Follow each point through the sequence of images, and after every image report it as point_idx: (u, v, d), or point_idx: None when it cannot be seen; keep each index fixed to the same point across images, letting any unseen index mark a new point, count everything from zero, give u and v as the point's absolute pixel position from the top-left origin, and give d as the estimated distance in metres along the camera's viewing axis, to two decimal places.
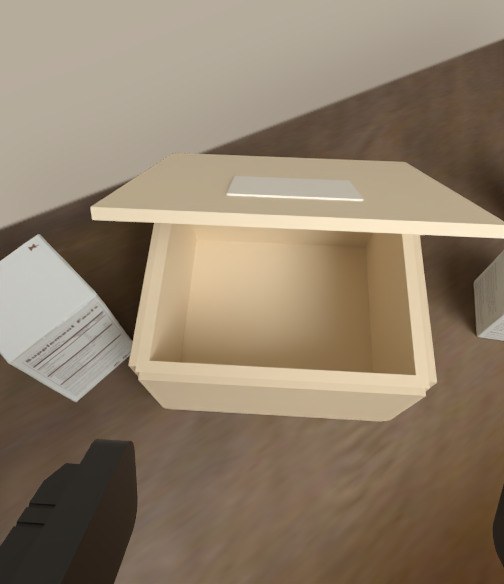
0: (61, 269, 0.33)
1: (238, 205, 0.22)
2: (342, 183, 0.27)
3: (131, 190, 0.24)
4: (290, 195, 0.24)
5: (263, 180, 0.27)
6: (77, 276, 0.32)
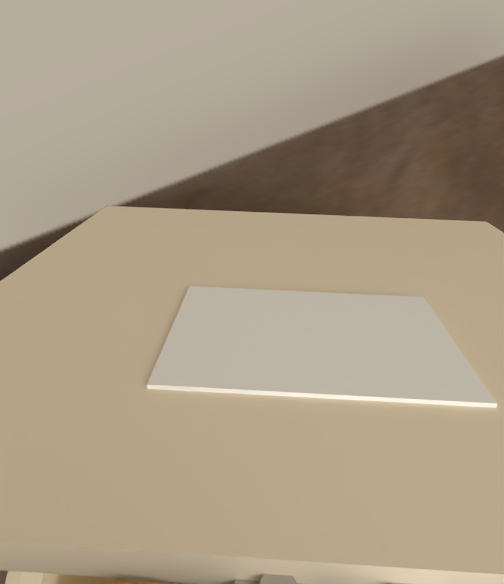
0: None
1: (160, 467, 0.07)
2: (414, 311, 0.13)
3: None
4: (308, 388, 0.09)
5: (246, 304, 0.13)
6: None
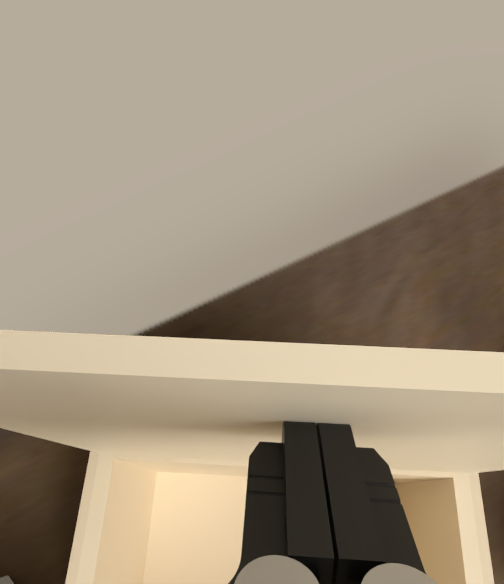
0: None
1: None
2: None
3: None
4: None
5: None
6: None
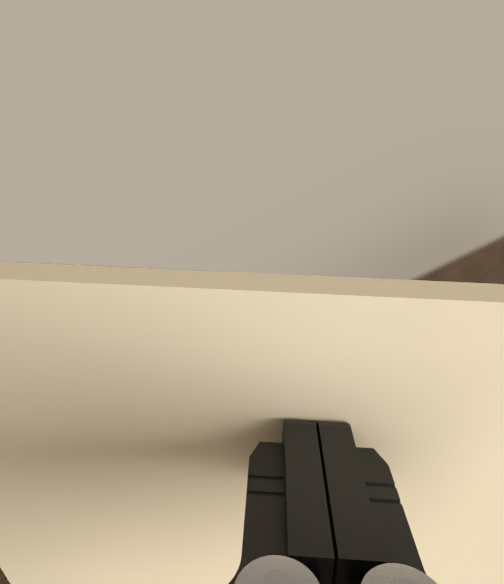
0: None
1: None
2: None
3: None
4: None
5: None
6: None
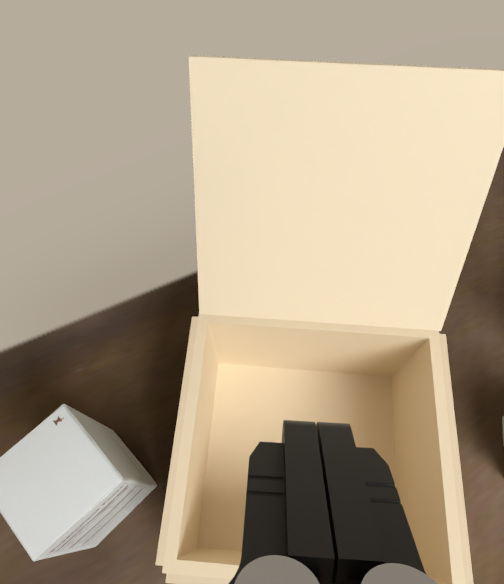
0: (87, 448, 0.32)
1: None
2: None
3: None
4: None
5: None
6: (103, 456, 0.32)
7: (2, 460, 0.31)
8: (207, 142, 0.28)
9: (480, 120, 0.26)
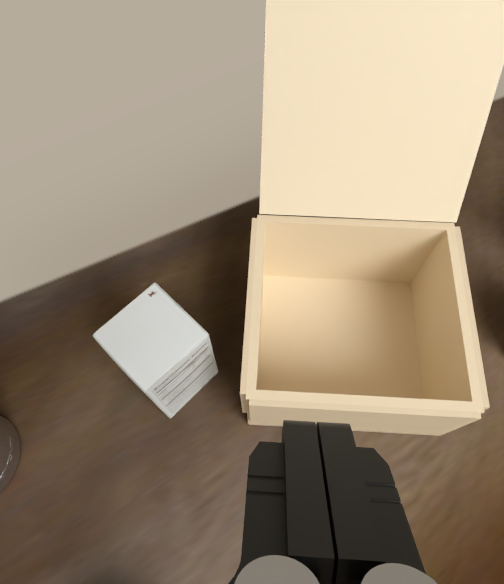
0: (177, 312, 0.40)
1: None
2: None
3: None
4: None
5: None
6: (191, 319, 0.40)
7: (111, 322, 0.39)
8: (276, 58, 0.36)
9: (488, 34, 0.34)
